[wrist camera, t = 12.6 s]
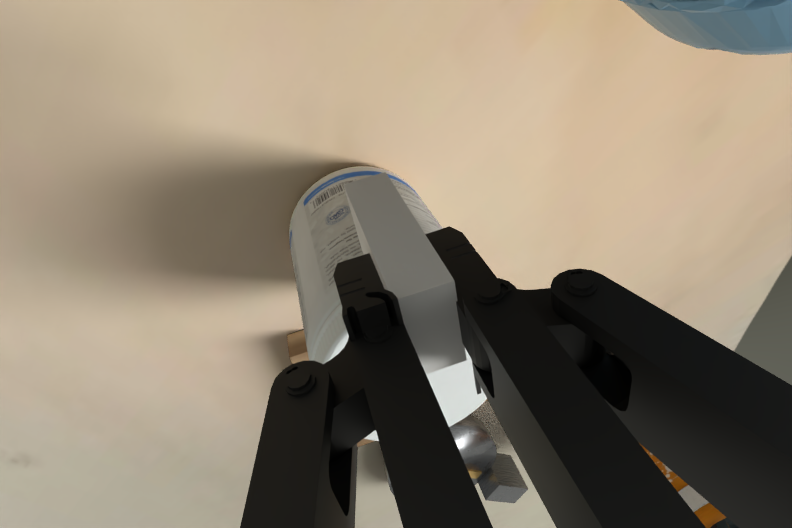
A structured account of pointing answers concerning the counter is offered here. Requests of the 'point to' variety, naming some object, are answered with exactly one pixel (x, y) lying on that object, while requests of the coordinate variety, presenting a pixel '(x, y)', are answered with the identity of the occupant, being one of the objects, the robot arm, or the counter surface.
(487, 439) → the turntable
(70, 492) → the counter surface
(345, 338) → the supplement tub
